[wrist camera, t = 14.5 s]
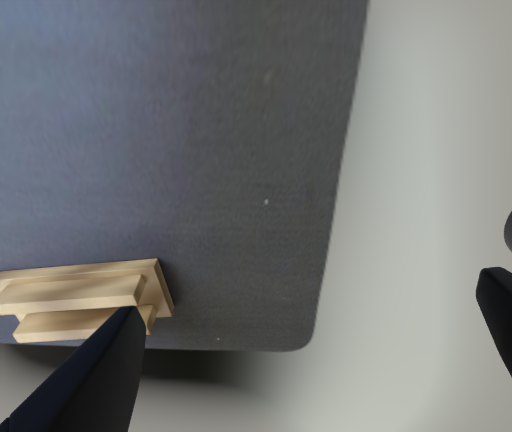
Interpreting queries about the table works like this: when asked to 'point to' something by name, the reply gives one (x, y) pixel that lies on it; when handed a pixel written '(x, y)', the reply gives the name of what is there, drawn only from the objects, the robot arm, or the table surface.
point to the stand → (81, 297)
